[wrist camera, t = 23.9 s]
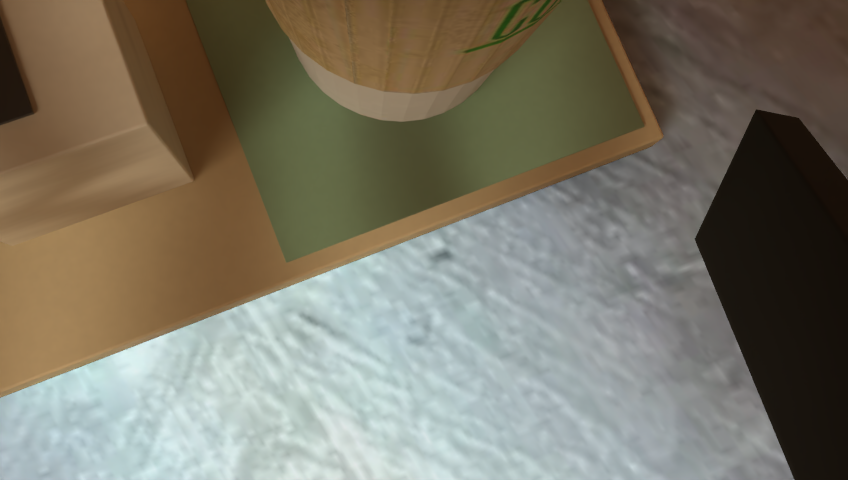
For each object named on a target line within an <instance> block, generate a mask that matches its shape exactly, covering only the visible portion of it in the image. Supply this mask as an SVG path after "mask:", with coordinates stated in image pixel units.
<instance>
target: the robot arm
mask: <svg viewBox="0 0 848 480" xmlns="http://www.w3.org/2000/svg"><path fill="white" fill-rule="evenodd" d="M695 241H696V243H697V246H698V248H699V251H700V253H701V255H702V258H703V260H704V263H705V265H706V267H707V270H708V272H709V275H710V277H711V279H712V282H713V284H714V287H715V289H716V292H717V294H718V296H719V299H720V301H721V304H722V306H723V308H724V311H725V313H726V316H727V318H728V320H729V323H730V325H731V328H732V330H733V332H734V335H735V337H736V340H737V342H738V345H739V347H740V349H741V352H742V354H743V357H744V359H745V361H746V364H747V366H748V369H749V371H750V373H751V376H752V378H753V381H754V383H755V385H756V388H757V390H758V393H759V395H760V398H761V400H762V402H763V405H764V407H765V410H766V412H767V414H768V417H769V419H770V422H771V424H772V426H773V429H774V431H775V434H776V436H777V438H778V441H779V443H780V446H781V448H782V451H783V453H784V455H785V458H786V460H787V463H788V465H789V467H790V470H791V472H792V475H793V477H794V479H795V480H848V180H847V179H846V178H845V176H844V175H843V174H842V172H841V171H840V170H839V169H838V167H837V166H836V165H835V164H834V162H833V161H832V160H831V158H830V157H829V156H828V155H827V153H826V152H825V151H824V150H823V148H822V147H821V146H820V145H819V143H818V142H817V141H816V139H815V138H814V137H813V136H812V134H811V133H810V132H809V131H808V129H807V128H806V127H805V125H804V124H803V123H802V122H801V120H800V119H799V118H796V117H791V116H786V115H781V114H776V113H771V112H766V111H761V110H756V111H755V113H754V115H753V117H752V119H751V121H750V123H749V125H748V128H747V130H746V132H745V134H744V136H743V138H742V140H741V142H740V144H739V147H738V149H737V151H736V153H735V155H734V157H733V159H732V161H731V164H730V166H729V168H728V170H727V172H726V174H725V176H724V178H723V180H722V183H721V185H720V187H719V189H718V191H717V193H716V195H715V197H714V200H713V202H712V204H711V206H710V208H709V210H708V212H707V214H706V216H705V219H704V221H703V223H702V225H701V227H700V229H699V231H698V233H697V236H696V238H695Z"/></svg>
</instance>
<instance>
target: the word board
mask: <svg viewBox="0 0 848 480" xmlns="http://www.w3.org/2000/svg"><path fill="white" fill-rule="evenodd" d="M662 138H663V133H662V131H661V129H660V126H659V124H658V122H657V120H656V118H655V115H654V113H653V111H652V109H651V107H650V105H649V102H648V100H647V98H646V96H645V94H644V91H643V89H642V87H641V85H640V83H639V80H638V78H637V76H636V74H635V72H634V70H633V67H632V65H631V63H630V61H629V59H628V56H627V54H626V52H625V50H624V48H623V45H622V43H621V41H620V39H619V37H618V35H617V32H616V30H615V28H614V26H613V24H612V21H611V19H610V17H609V15H608V13H607V10H606V8H605V6H604V4H603V2H602V0H562V1H561V2H560V3H559V4H558V6H557V7H556V8H555V9H554V10H553V11H552V12H551V13H550V15H549V16H548V17H547V18H546V19H545V20H544V21H543V22H542V24H541V25H540V26H539V27H538V28H537V29H536V30H535V31H534V33H533V34H532V35H531V36H530V37H529V38H528V39H527V40H526V41H525V43H524V44H523V45H522V46H521V47H520V48H519V49H518V50H517V51H516V52H515V53H514V54H513V55H511V56H510V57H509V58H508V59H507V60H506V61H504V62H503V63H502V64H501V65H500V66H499V67H497V68H496V69H494V71H493V72H492V73H491V74H490V75H489V76H488V78H487V79H486V80H485V81H484V82H483V83H482V85H481V86H480V87H479V88H478V89H477V90H476V91H475V92H474V93H473V94H472V95H471V96H469V97H468V98H467V99H466V100H465V101H463V102H462V103H461V104H459V105H457V106H455V107H454V108H452V109H450V110H448V111H446V112H445V113H442V114H439V115H436V116H433V117H430V118H426V119H423V120H414V121H405V122H398V121H385V120H378V119H375V118H371V117H367V116H363V115H360V114H358V113H356V112H354V111H352V110H350V109H348V108H345V107H343V106H341V105H340V104H338V103H337V102H336V101H334V100H333V99H332V98H330V97H329V96H328V95H326V94H325V93H324V92H323V91H322V90H321V89H320V88H319V87H318V86H317V85H316V84H315V83H314V81H313V80H312V79H311V78H310V77H309V75H308V74H307V72H306V70H305V69H304V67H303V65H302V64H301V62H300V60H299V59H298V57H297V54H296V52H295V50H294V48H293V46H292V43H291V41H290V39H289V37H288V36H287V35H286V34H285V33H284V31H283V30H282V29H281V27H280V25H279V24H278V22H277V20H276V19H275V17H274V15H273V14H272V12H271V10H270V9H269V7H268V5H267V3H266V1H265V0H0V398H1V397H3V396H6V395H8V394H11V393H14V392H16V391H19V390H21V389H24V388H27V387H29V386H32V385H34V384H37V383H40V382H42V381H45V380H47V379H50V378H53V377H55V376H58V375H60V374H63V373H66V372H68V371H71V370H73V369H76V368H78V367H81V366H84V365H86V364H89V363H91V362H94V361H97V360H99V359H102V358H104V357H107V356H110V355H112V354H115V353H117V352H120V351H123V350H125V349H128V348H130V347H133V346H136V345H138V344H141V343H143V342H146V341H149V340H151V339H154V338H156V337H159V336H161V335H164V334H167V333H169V332H172V331H174V330H177V329H180V328H182V327H185V326H187V325H190V324H193V323H195V322H198V321H200V320H203V319H206V318H208V317H211V316H213V315H216V314H219V313H221V312H224V311H226V310H229V309H232V308H234V307H237V306H239V305H242V304H244V303H247V302H250V301H252V300H255V299H257V298H260V297H263V296H265V295H268V294H270V293H273V292H276V291H278V290H281V289H283V288H286V287H289V286H291V285H294V284H296V283H299V282H302V281H304V280H307V279H309V278H312V277H315V276H317V275H320V274H322V273H325V272H327V271H330V270H333V269H335V268H338V267H340V266H343V265H346V264H348V263H351V262H353V261H356V260H359V259H361V258H364V257H366V256H369V255H372V254H374V253H377V252H379V251H382V250H385V249H387V248H390V247H392V246H395V245H398V244H400V243H403V242H405V241H408V240H410V239H413V238H416V237H418V236H421V235H423V234H426V233H429V232H431V231H434V230H436V229H439V228H442V227H444V226H447V225H449V224H452V223H455V222H457V221H460V220H462V219H465V218H468V217H470V216H473V215H475V214H478V213H481V212H483V211H486V210H488V209H491V208H493V207H496V206H499V205H501V204H504V203H506V202H509V201H512V200H514V199H517V198H519V197H522V196H525V195H527V194H530V193H532V192H535V191H538V190H540V189H543V188H545V187H548V186H551V185H553V184H556V183H558V182H561V181H564V180H566V179H569V178H571V177H574V176H577V175H579V174H582V173H584V172H587V171H589V170H592V169H595V168H597V167H600V166H602V165H605V164H608V163H610V162H613V161H615V160H618V159H621V158H623V157H626V156H628V155H631V154H634V153H636V152H639V151H641V150H644V149H647V148H649V147H651V146H653V145H654V144H655V143H657V142H658V141H659V140H661V139H662Z"/></svg>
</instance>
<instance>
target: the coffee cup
mask: <svg viewBox="0 0 848 480" xmlns="http://www.w3.org/2000/svg"><path fill="white" fill-rule="evenodd" d="M265 1H266V3H267V5H268V7H269V9H270V10H271V12H272V14H273V15H274V17H275V19H276V20H277V22H278V24H279V25H280V27H281V29H282V30H283V31H284V33H285V34H286V35H287V36H288V37H289V39H290V41H291V43H292V46H293V48H294V50H295V52H296V54H297V57H298V59H299V60H300V62H301V64H302V65H303V67H304V69H305V70H306V72H307V74H308V75H309V77H310V78H311V79H312V80H313V81H314V83H315V84H316V85H317V86H318V87H319V88H320V89H321V90H322V91H323V92H324V93H325V94H326V95H328V96H329V97H330V98H332V99H333V100H334V101H336V102H337V103H338V104H340V105H341V106H343V107H345V108H348V109H350V110H352V111H354V112H356V113H358V114H360V115H363V116H367V117H371V118H375V119H378V120H385V121H398V122H405V121H414V120H423V119H426V118H430V117H433V116H436V115H439V114H442V113H445V112H446V111H448V110H450V109H452V108H454V107H455V106H457V105H459V104H461V103H462V102H463V101H465V100H466V99H467V98H468V97H469V96H471V95H472V94H473V93H474V92H475V91H476V90H477V89H478V88H479V87H480V86H481V85H482V83H483V82H484V81H485V80H486V79H487V78H488V76H489V75H490V74H491V73H492V72H493V71H494V69H496V68H497V67H499V66H500V65H501V64H502V63H503V62H504V61H506V60H507V59H508V58H509V57H510V56H511V55H513V54H514V53H515V52H516V51H517V50H518V49H519V48H520V47H521V46H522V45H523V44H524V43H525V41H526V40H527V39H528V38H529V37H530V36H531V35H532V34H533V33H534V31H535V30H536V29H537V28H538V27H539V26H540V25H541V24H542V22H543V21H544V20H545V19H546V18H547V17H548V16H549V15H550V13H551V12H552V11H553V10H554V9H555V8H556V7H557V6H558V4H559V3H560V2H561V1H562V0H265Z"/></svg>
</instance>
